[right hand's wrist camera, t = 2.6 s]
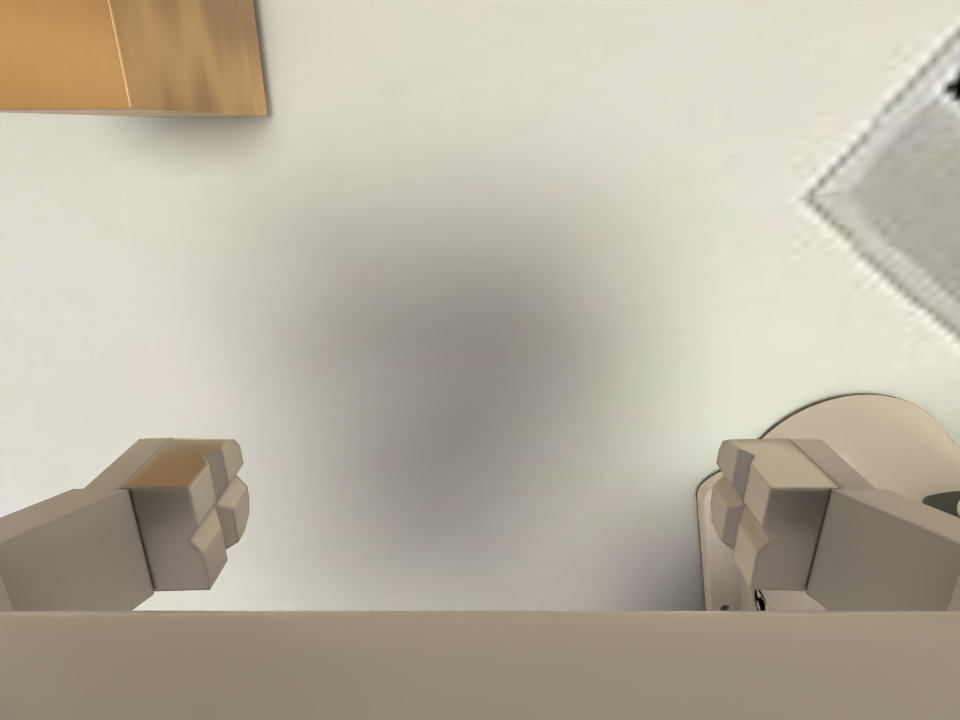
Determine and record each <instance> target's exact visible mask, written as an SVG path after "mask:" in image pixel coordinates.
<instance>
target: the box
mask: <svg viewBox="0 0 960 720" xmlns="http://www.w3.org/2000/svg"><path fill="white" fill-rule="evenodd" d="M0 112H9V113H43V114H77V115H111V116H145V117H205V116H267V106H266V98H265V90H264V82H263V74H262V66H261V58H260V51H259V43H258V35H257V27H256V19H255V11H254V3H253V0H0Z"/></svg>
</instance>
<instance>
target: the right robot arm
mask: <svg viewBox="0 0 960 720" xmlns="http://www.w3.org/2000/svg"><path fill="white" fill-rule="evenodd" d="M242 465H243V458H242V454H241V449H240V445H239V444H238V443H237V442H236V441H235V440H234V439H182V438H177V439H174V438H147V439H139V440H138V441H137V442H136V443H135V444H134V445H132V446H131V447H130V448H129V449H128V450H127V451H126V452H125V453H123V454H122V455H121V456H120V457H119V458H118V459H117V460H116V461H114V462H113V463H112V464H111V465H110V466H109V467H108V468H107V469H105V470H104V471H103V472H102V473H101V474H100V475H99V476H98V477H97V478H95V479H94V480H93V481H92V482H91V483H90V484H89V485H88V486H86V487H85V488H84V489H72V490H70V491H67V492H65V493H62V494H60V495H57V496H55V497H52V498H50V499H47V500H45V501H42V502H40V503H37V504H34V505H32V506H29V507H27V508H24V509H22V510H19V511H17V512H14V513H12V514H9V515H7V516H4V517H2V518H0V720H960V449H959V448H958V447H957V446H956V444H955V443H954V442H953V441H952V439H951V438H950V437H949V436H948V434H947V433H946V431H945V430H944V429H943V427H942V426H941V425H940V424H939V422H938V421H937V420H936V419H935V418H934V417H933V416H931V415H930V414H929V413H928V412H926V411H925V410H923V409H922V408H920V407H918V406H916V405H914V404H912V403H910V402H907V401H904V400H901V399H898V398H894V397H889V396H882V395H853V396H845V397H840V398H835V399H831V400H828V401H824V402H821V403H818V404H816V405H813V406H811V407H808V408H806V409H804V410H802V411H800V412H798V413H796V414H794V415H793V416H791V417H789V418H788V419H786V420H785V421H783V422H782V423H780V424H779V425H778V426H776V427H775V428H774V429H772V430H771V431H770V432H769V433H768V434H767V435H766V436H765V437H763V438H762V439H734V440H725V441H723V442H722V444H721V446H720V449H719V452H718V458H717V465H718V466H719V468H720V469H721V471H720V472H718V473H717V474H715V475H713V476H711V477H710V478H708V479H707V480H706V481H705V482H703V483H702V484H701V486H700V487H699V489H698V492H697V504H698V516H699V529H700V542H701V554H702V567H703V580H704V593H705V605H706V611H132V610H133V609H134V608H136V607H137V606H138V605H140V604H141V603H142V602H144V601H145V600H147V599H148V598H149V597H151V596H152V595H153V594H154V591H182V590H210V589H211V587H212V585H213V584H214V582H215V580H216V579H217V577H218V575H219V574H220V572H221V570H222V569H223V567H224V565H225V564H226V562H227V554H226V549H227V548H229V547H231V546H232V545H234V544H236V543H237V542H239V540H240V538H241V536H242V534H243V533H244V531H245V528H246V524H247V520H248V515H249V494H248V488H247V485H246V484H245V483H244V482H243V481H242V480H241V479H240V478H239V477H238V476H237V475H236V474H237V473H238V471H239V469H240V468H241V466H242Z"/></svg>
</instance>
